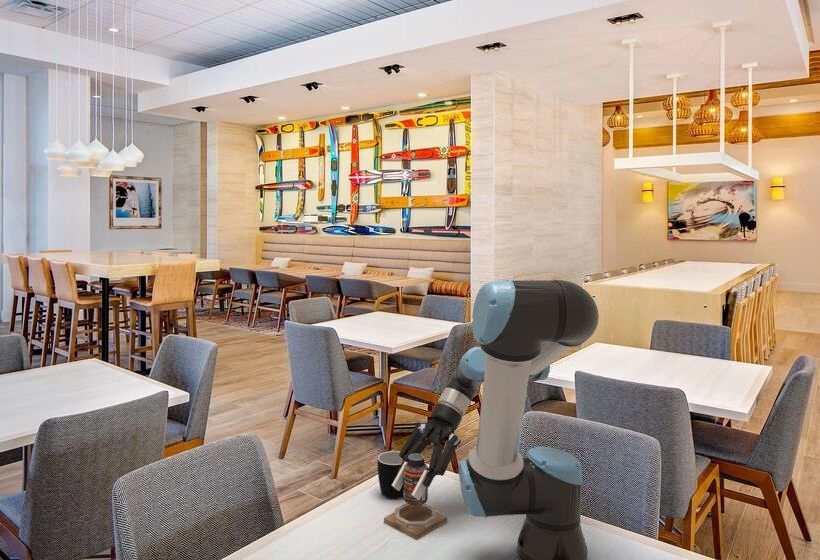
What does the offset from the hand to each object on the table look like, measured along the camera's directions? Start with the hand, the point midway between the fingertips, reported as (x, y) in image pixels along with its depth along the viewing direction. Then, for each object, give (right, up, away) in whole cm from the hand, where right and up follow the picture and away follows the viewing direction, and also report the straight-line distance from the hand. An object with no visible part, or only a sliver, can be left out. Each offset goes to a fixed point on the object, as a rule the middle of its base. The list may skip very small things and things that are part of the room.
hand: (405, 492), depth 140 cm
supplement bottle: (+3, -3, +3) cm, 5 cm away
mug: (-3, -7, +19) cm, 20 cm away
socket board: (+3, -8, +3) cm, 9 cm away
